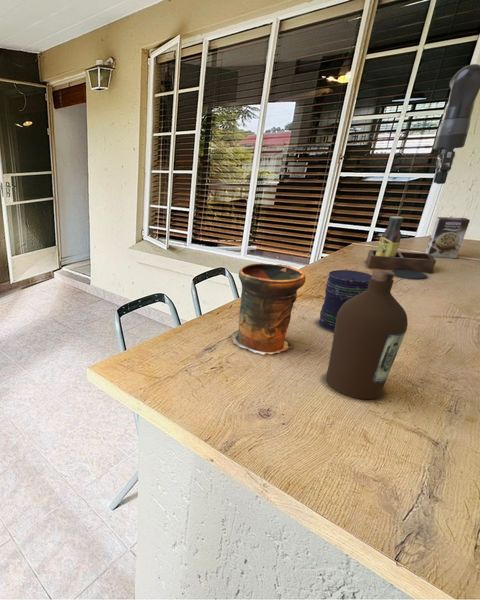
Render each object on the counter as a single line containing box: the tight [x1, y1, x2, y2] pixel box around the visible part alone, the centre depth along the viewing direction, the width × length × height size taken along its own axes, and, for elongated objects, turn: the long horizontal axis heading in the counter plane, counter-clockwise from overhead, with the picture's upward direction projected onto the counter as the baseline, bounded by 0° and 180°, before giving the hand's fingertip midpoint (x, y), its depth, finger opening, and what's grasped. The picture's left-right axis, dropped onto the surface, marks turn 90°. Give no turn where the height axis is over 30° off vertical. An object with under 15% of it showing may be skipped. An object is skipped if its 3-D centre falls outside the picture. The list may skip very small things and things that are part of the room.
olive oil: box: [325, 269, 409, 400], centre depth 68 cm, size 11×11×25 cm
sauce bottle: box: [375, 215, 404, 257], centre depth 140 cm, size 6×6×20 cm
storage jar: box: [318, 269, 372, 333], centre depth 95 cm, size 10×10×15 cm
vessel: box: [231, 262, 307, 356], centre depth 88 cm, size 14×14×20 cm
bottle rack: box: [366, 249, 437, 274], centre depth 140 cm, size 19×11×5 cm, turn 56°
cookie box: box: [425, 216, 471, 259], centre depth 148 cm, size 9×6×16 cm
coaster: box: [390, 270, 428, 280], centre depth 131 cm, size 10×10×1 cm
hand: (438, 183), depth 125 cm, fingers open, 8 cm apart
